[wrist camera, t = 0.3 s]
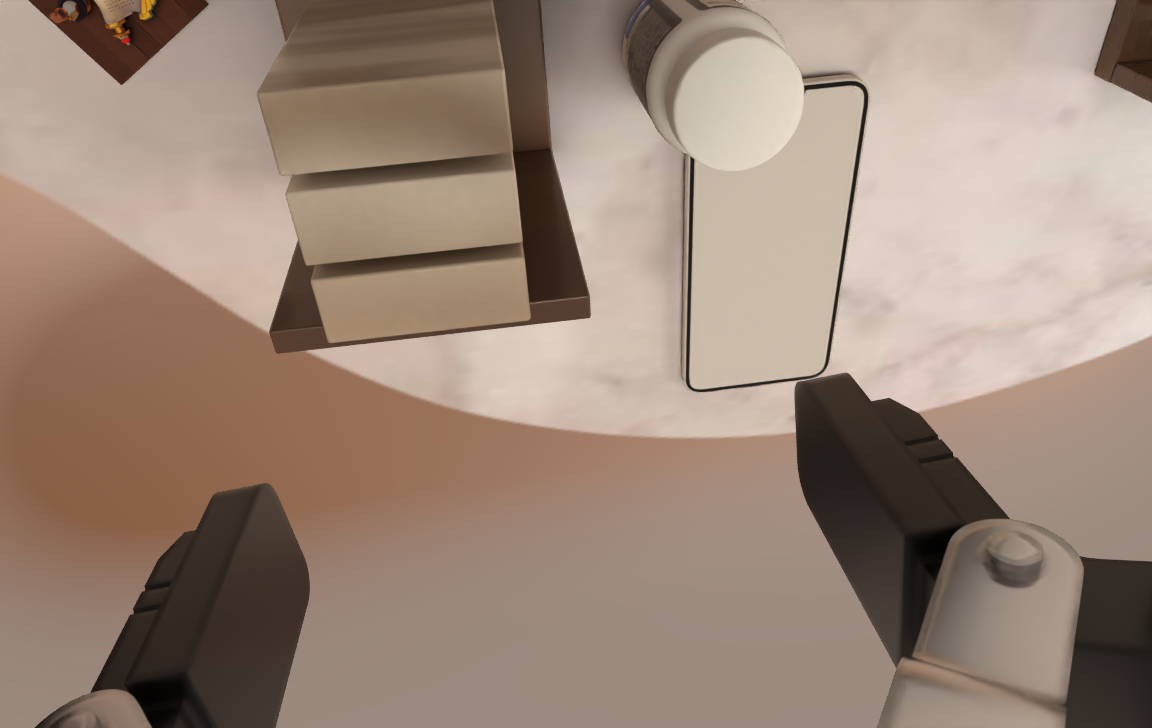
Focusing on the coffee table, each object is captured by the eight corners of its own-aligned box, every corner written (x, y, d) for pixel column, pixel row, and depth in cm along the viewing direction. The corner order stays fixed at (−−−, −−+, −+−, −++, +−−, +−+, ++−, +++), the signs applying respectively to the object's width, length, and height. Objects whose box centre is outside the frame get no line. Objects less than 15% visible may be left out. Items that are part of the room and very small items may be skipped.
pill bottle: (656, 131, 33) (701, 213, 26) (598, 24, 31) (630, 81, 24) (764, 68, 32) (841, 134, 25) (713, -48, 30) (782, -11, 23)
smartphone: (682, 396, 41) (688, 95, 32) (679, 387, 41) (684, 89, 32) (828, 377, 41) (875, 75, 32) (823, 369, 42) (868, 70, 33)
